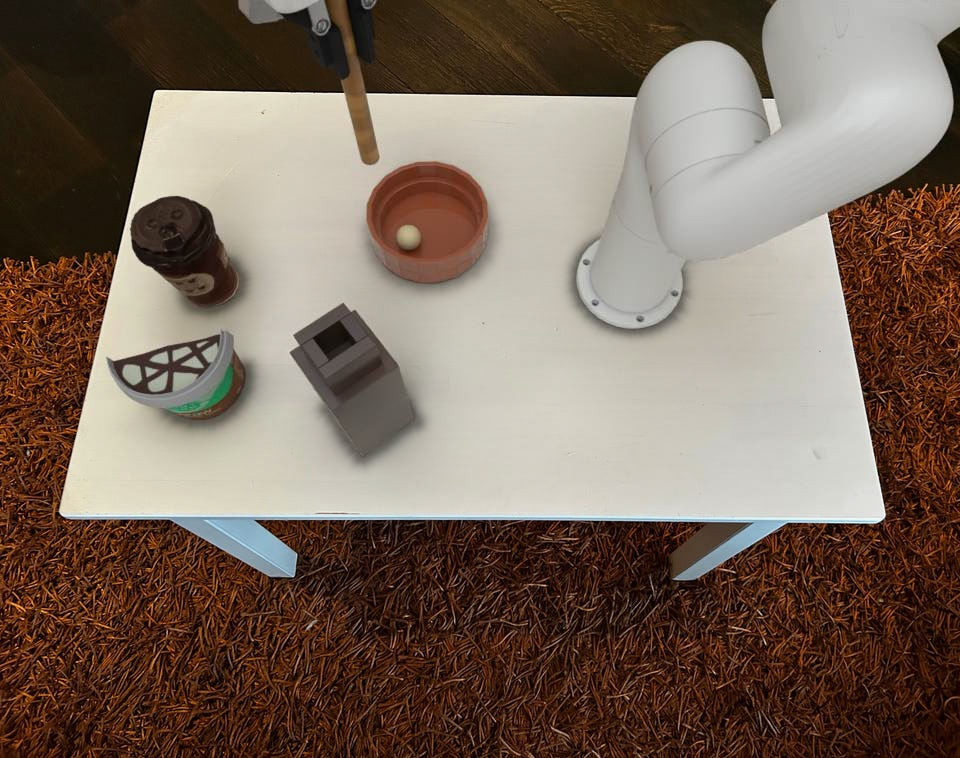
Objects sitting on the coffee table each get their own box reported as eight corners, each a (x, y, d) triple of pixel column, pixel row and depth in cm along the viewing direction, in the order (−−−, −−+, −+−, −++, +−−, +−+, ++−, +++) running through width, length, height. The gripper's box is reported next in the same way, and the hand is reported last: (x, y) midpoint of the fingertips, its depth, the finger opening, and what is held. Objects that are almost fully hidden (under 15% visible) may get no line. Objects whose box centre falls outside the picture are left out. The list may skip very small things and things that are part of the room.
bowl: (442, 169, 84) (440, 142, 80) (510, 243, 80) (512, 220, 76) (350, 225, 81) (342, 200, 76) (416, 306, 77) (413, 285, 72)
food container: (154, 443, 71) (105, 415, 62) (148, 392, 73) (100, 358, 64) (266, 413, 72) (235, 381, 63) (257, 364, 74) (226, 326, 65)
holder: (379, 373, 74) (346, 287, 55) (415, 420, 72) (393, 347, 53) (327, 409, 72) (275, 332, 54) (362, 457, 71) (321, 396, 52)
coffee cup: (233, 324, 76) (187, 266, 64) (166, 311, 77) (107, 252, 65) (257, 261, 79) (217, 194, 67) (192, 249, 80) (141, 181, 68)
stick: (372, 147, 56) (333, -26, 41) (383, 159, 56) (348, -12, 41) (357, 157, 56) (312, -15, 41) (368, 168, 56) (327, 0, 41)
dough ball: (412, 229, 80) (410, 215, 77) (426, 246, 79) (425, 232, 77) (392, 242, 80) (389, 228, 77) (406, 259, 79) (404, 245, 76)
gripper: (155, -166, 26) (284, 148, 43) (458, -303, 30) (466, 37, 47) (70, -250, 28) (225, 81, 46) (363, -369, 32) (404, -20, 49)
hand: (347, 57), depth 46 cm, fingers closed on stick, 1 cm apart
